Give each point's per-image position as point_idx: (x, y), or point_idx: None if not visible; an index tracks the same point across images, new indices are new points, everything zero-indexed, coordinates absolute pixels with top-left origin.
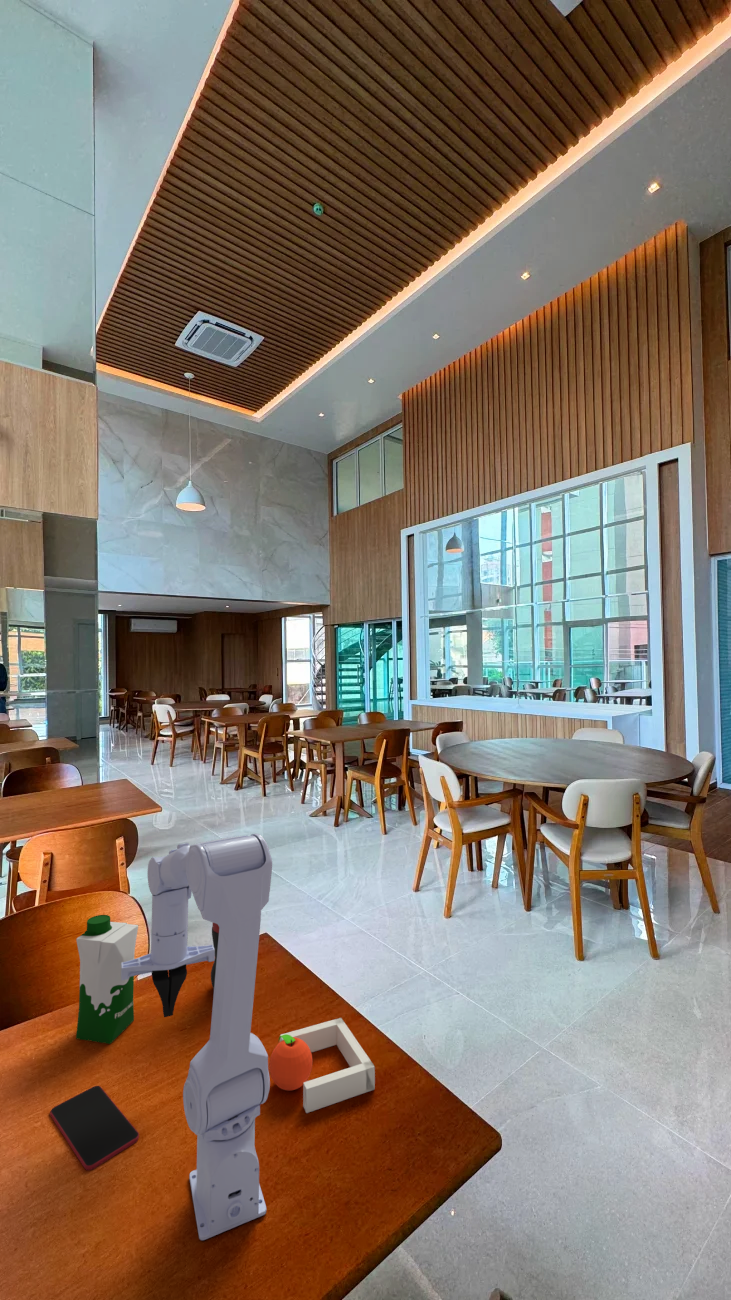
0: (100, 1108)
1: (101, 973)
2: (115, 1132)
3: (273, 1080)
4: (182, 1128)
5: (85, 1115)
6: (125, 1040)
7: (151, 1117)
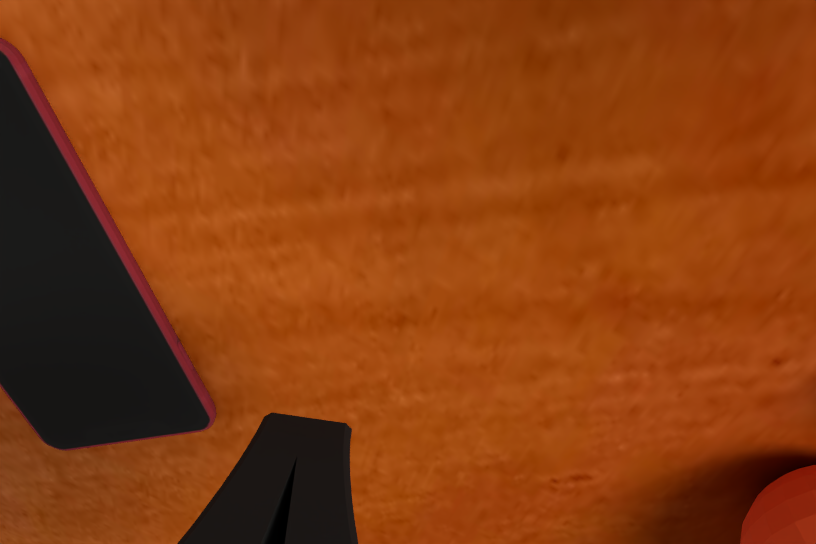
0: (45, 228)
1: None
2: (127, 375)
3: (741, 532)
4: (367, 448)
5: None
6: None
7: (269, 355)
